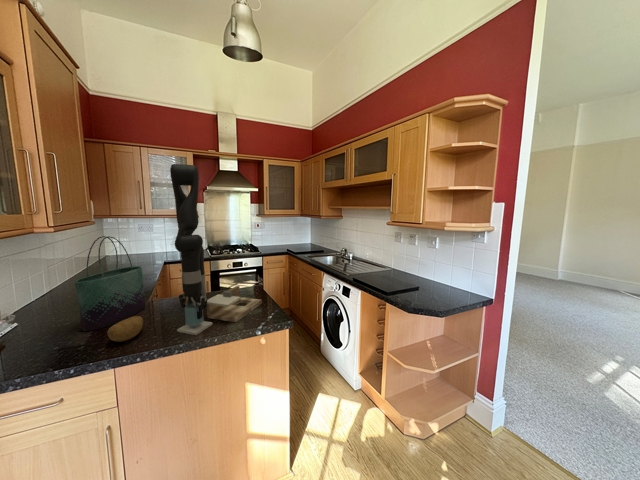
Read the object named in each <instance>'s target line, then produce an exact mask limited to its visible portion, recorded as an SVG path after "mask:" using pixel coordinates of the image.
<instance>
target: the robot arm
mask: <svg viewBox="0 0 640 480" xmlns="http://www.w3.org/2000/svg"><path fill="white" fill-rule="evenodd" d="M169 171H170V173H169V174H170V180H171V185H172V189H173V196H174V202H175V213H176V214H175V215H176V222H177V227H178V229H177V234H176V237H175V241H174V247H175V250H177V252H180V259H181V261H180V263H181V264H180V265H181V283H182V286H181V287H182V292H183V293H181V294H179V295H178V299H179V302H180V306H181V308H182V309H185V307H186V306H189V305H190V304H194V307H196V308H197V319H201V318H202V316H203V317H204V313H203V314H202V310H203V311H204V310H205V309H206V310H207V300H208V299H209V296H207V289H206V288H207V287H206V273H205V271H206V270H205V251H204V250H205V249H204V246H203V245H204V240H203V237H202V236H201V235H199V234H194V232H195V231H196V229H198V226H199V211H198V208H197V207H198V200H199V199H198V198H199V187H200V185H199V183H200V175H199V169H198V166H196V165H194V164H184V163H182V164H181V163H180V164H179V163H173V164H171V166H170V169H169ZM183 186H184V187H185V186H187V187H190V189H189V193H188V194H187V195H185V193H184V191H183V188H182V187H183ZM199 306H200V308H199Z"/></svg>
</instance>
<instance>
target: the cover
mask: <svg viewBox="0 0 640 480" xmlns="http://www.w3.org/2000/svg"><path fill="white" fill-rule="evenodd" d="M222 293H223V295H220V294H221V293H220V294H216V295H214V296H212V297H211V298H208V300H207V304H210V305H217V306H225V307H228V306H230V305H232V304H233V303H235V302H237V301H238V300H240V299H241V297H242V296H240V297H236V296H233V292H232V291H228V290H224V291H223V292H222Z"/></svg>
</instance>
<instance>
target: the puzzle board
mask: <svg viewBox="0 0 640 480" xmlns="http://www.w3.org/2000/svg"><path fill="white" fill-rule="evenodd" d="M227 291H232V292H233V296H236V297H241V299H240V300H238V301H237V302H235V303H233V304H232V305H230V306H228V307H225V306H217V305H210V304H207V306H206V311H207V312H206V315H207V318H208V319H213V320H218V321H219V320H220V321H226V322H232V323H237V322H238V321H240V320H241V319H243V318H244V317H245V316H247V315H248V314H249V313H251V312H252V311H254V310H255V309H256V308H258V307H259V306H260V305H261V304H262V303H263V299H258V298H252V297H251V298H250V297H244V296H241V294H240V293H241V288H240V285H236V286H233V287H231V288H230V289H228V290H227ZM220 295H223V292H222V293H220ZM240 303H241V304H246V305H244V306H243V305H238V304H240Z"/></svg>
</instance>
